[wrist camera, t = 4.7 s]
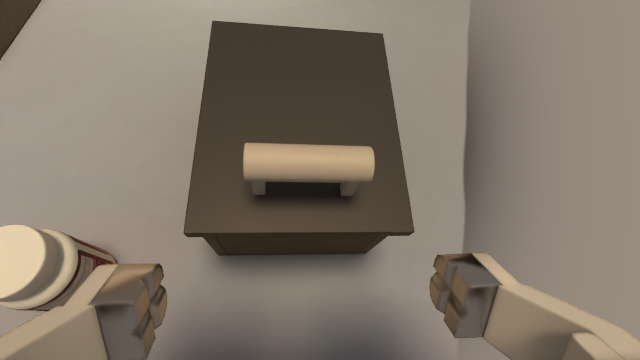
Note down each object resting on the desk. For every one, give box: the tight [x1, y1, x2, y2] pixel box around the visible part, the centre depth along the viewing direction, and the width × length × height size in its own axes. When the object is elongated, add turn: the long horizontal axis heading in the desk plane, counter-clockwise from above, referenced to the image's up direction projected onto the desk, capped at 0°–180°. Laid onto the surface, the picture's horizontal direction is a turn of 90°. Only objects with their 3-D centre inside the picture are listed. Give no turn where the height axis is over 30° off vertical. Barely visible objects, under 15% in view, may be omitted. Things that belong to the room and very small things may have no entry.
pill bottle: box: [0, 225, 116, 311], centre depth 21 cm, size 5×5×8 cm
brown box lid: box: [184, 21, 414, 237], centre depth 19 cm, size 16×13×5 cm
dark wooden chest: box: [203, 236, 387, 255], centre depth 26 cm, size 15×13×10 cm
